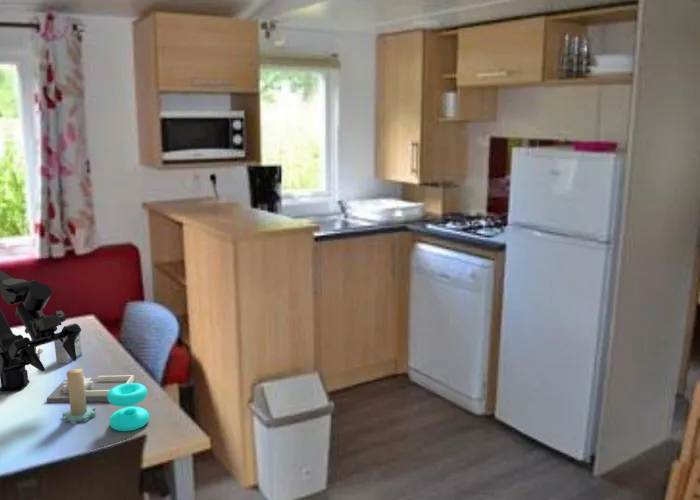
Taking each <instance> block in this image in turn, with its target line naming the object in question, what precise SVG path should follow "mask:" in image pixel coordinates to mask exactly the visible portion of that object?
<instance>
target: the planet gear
mask: <svg viewBox="0 0 700 500" xmlns="http://www.w3.org/2000/svg"><path fill="white" fill-rule="evenodd" d="M84 376H85V375H84V370H83V368H72V369H69V370H68V371H66V378H67V379H66V380H68V389H69V399H70V402H69V407H70V408H69V410H67V411H63V412H62V414H61V416H62V422H64V423H70V424H71V425H76V424H77V423H82V422H84V423H86V422H89V420H90V419H91V418H95V417H96V416H97V412H96V408H95V406H91V407H89V406H88V405H87V401H86V396H85V385H84Z"/></svg>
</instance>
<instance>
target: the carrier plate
mask: <svg viewBox="0 0 700 500" xmlns="http://www.w3.org/2000/svg"><path fill="white" fill-rule="evenodd" d="M125 383H136V378H135V375H134V374H132V375H131V374H129V375H125V374H123V375H98V376H97V379H94V378H93V377H86V376H85V375H84V385H85V396H86V402H109V401H108V399H107V394H108V392H109V391H110V390H111V389H112V388H113V387H115V386H118V385H121V384H125ZM46 403H70V399H69V389H68V379H64V380H63V381H62V382H61V383H60V384H59V385H58V386H57V387H56V388H55V389H54V390H53V391H52V392H51V393H50V394H49V395H48V396H47V397H46Z"/></svg>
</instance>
